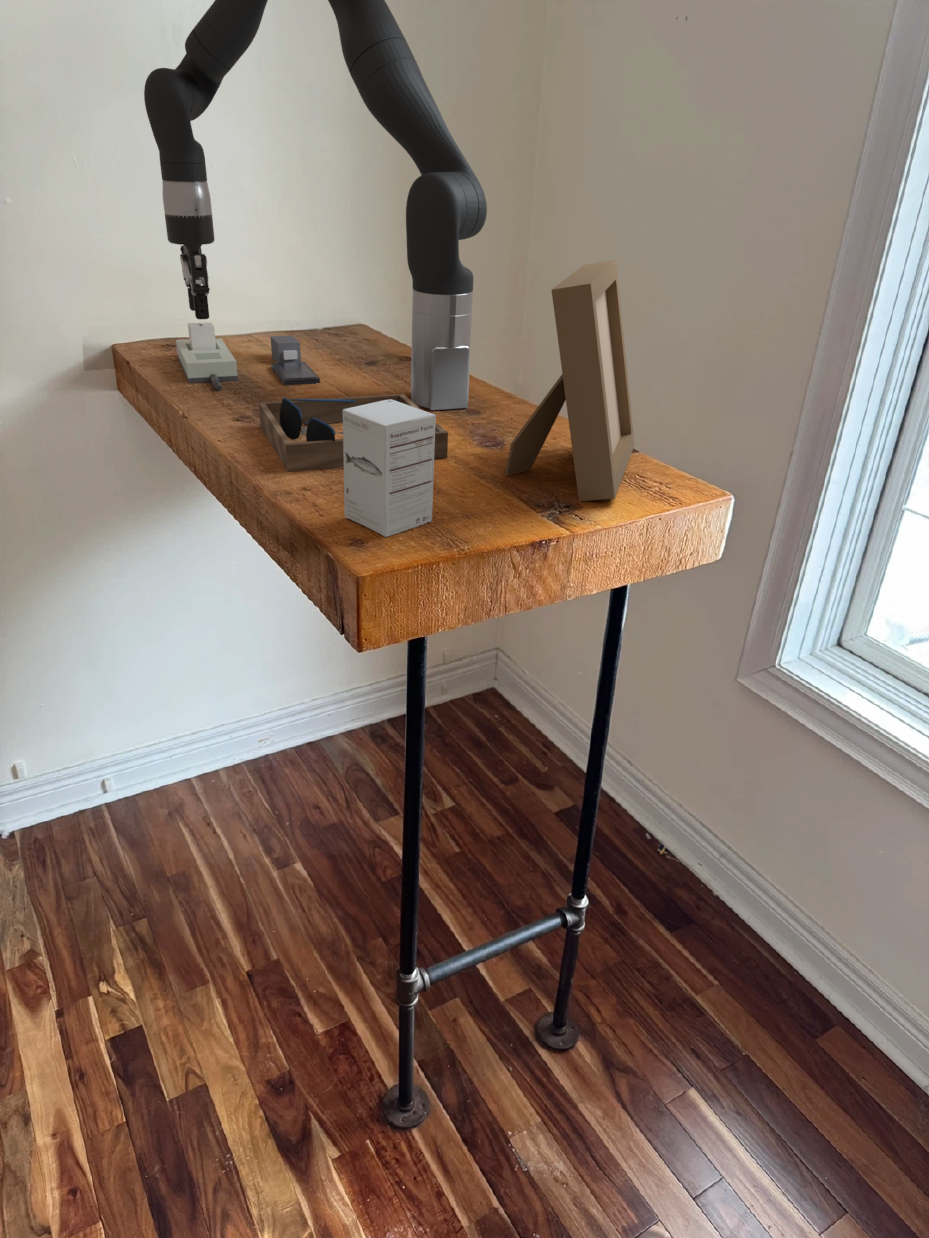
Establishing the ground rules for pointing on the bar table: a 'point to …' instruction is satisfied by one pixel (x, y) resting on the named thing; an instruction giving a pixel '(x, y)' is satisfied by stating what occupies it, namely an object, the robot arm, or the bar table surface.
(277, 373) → the phone
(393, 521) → the supplement box
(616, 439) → the photo frame
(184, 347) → the strip
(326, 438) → the sunglasses
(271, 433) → the valet tray
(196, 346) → the charger
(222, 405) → the bar table surface
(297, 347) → the plug
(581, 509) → the bar table surface
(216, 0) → the robot arm
